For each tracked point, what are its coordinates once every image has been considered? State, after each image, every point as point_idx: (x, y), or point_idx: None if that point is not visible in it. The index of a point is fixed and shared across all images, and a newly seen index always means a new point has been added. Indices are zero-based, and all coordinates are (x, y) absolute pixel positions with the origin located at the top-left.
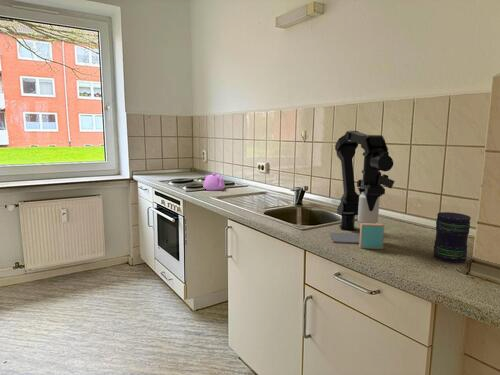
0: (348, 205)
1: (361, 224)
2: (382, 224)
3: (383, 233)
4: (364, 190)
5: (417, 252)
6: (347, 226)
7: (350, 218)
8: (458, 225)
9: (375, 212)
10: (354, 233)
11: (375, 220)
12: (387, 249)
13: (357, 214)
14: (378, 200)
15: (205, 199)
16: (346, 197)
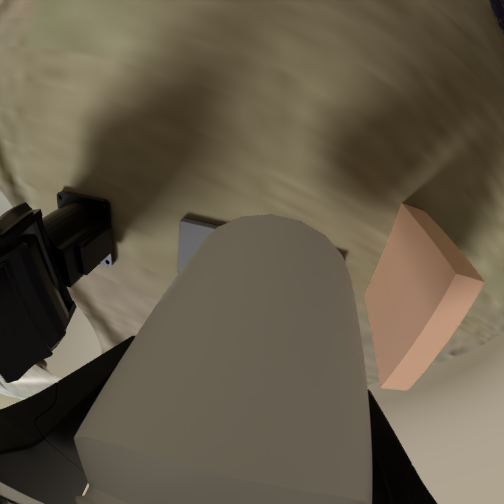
0: (48, 334)
1: (403, 388)
2: (468, 287)
3: (458, 252)
4: (57, 494)
5: (483, 76)
6: (106, 252)
7: (74, 258)
8: None
9: (360, 343)
10: (179, 243)
11: (350, 281)
12: (434, 190)
13: (40, 224)
14: (357, 462)
15: (22, 392)
16: (20, 375)
